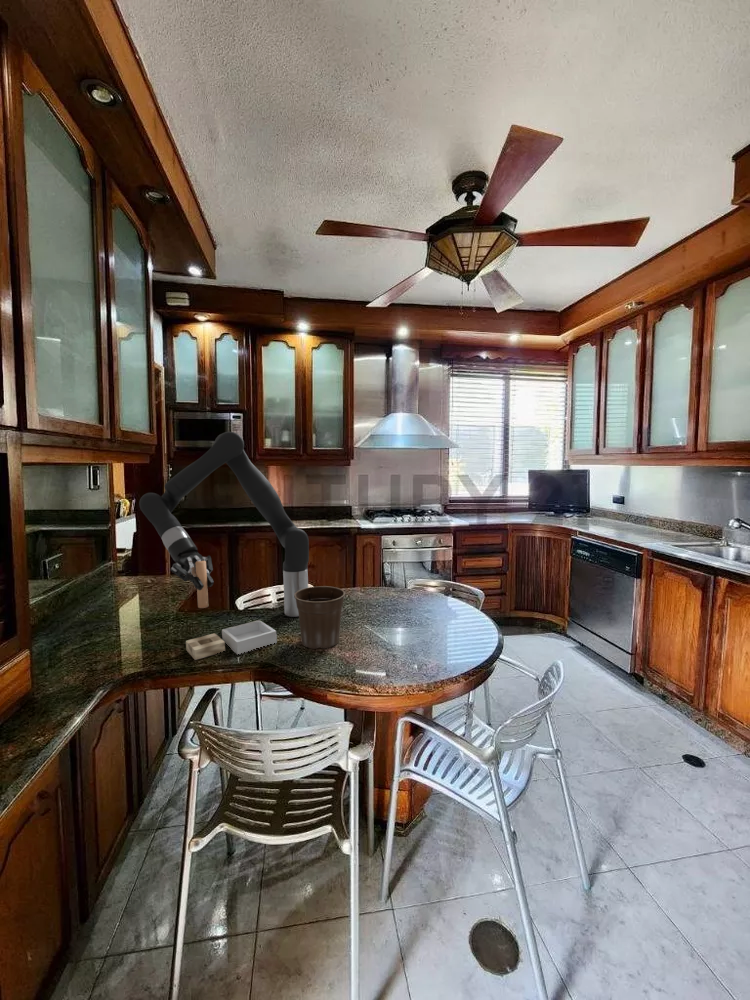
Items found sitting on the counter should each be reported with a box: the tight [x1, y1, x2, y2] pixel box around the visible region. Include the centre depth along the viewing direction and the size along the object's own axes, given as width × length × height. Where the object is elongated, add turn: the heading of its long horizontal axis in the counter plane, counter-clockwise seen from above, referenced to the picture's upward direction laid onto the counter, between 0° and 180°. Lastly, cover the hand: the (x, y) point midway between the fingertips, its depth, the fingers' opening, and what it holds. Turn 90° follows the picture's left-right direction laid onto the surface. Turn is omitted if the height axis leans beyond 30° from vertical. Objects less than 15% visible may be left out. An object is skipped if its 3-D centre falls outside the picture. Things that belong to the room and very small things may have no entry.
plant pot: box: [294, 585, 346, 650], centre depth 139 cm, size 16×16×16 cm
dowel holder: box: [185, 633, 226, 661], centre depth 134 cm, size 9×9×3 cm
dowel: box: [195, 561, 209, 609], centre depth 133 cm, size 3×3×14 cm
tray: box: [221, 619, 278, 656], centre depth 140 cm, size 13×13×4 cm
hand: (206, 586), depth 132 cm, fingers closed on dowel, 3 cm apart
